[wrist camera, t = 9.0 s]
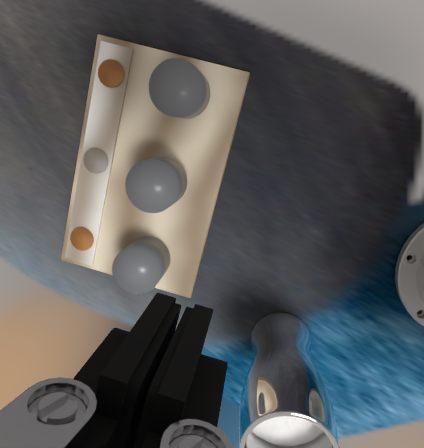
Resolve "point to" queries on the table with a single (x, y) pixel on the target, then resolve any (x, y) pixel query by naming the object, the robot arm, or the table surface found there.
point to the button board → (143, 150)
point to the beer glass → (285, 390)
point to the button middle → (155, 184)
